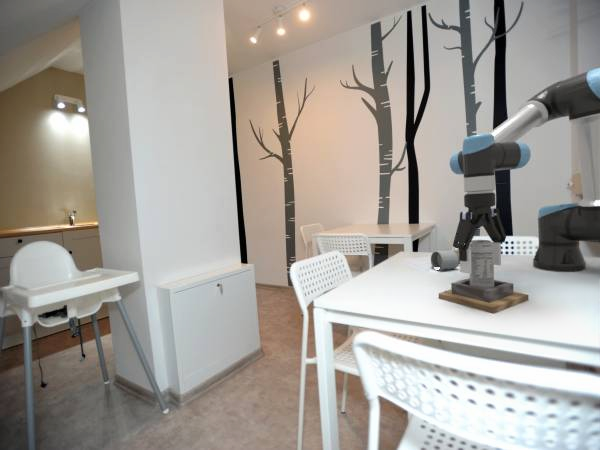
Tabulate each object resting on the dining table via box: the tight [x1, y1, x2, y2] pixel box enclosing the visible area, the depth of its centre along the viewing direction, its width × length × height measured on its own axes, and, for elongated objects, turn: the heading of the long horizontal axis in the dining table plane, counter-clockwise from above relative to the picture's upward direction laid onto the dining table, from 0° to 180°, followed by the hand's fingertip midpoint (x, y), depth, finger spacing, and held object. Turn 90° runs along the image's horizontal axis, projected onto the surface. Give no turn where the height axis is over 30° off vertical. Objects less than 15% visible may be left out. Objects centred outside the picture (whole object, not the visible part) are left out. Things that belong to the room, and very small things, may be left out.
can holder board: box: [438, 277, 530, 314], centre depth 91 cm, size 16×16×4 cm
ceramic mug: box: [430, 250, 459, 271], centre depth 129 cm, size 11×8×8 cm
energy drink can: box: [469, 239, 495, 289], centre depth 91 cm, size 6×6×15 cm
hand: (481, 268), depth 91 cm, fingers open, 13 cm apart
